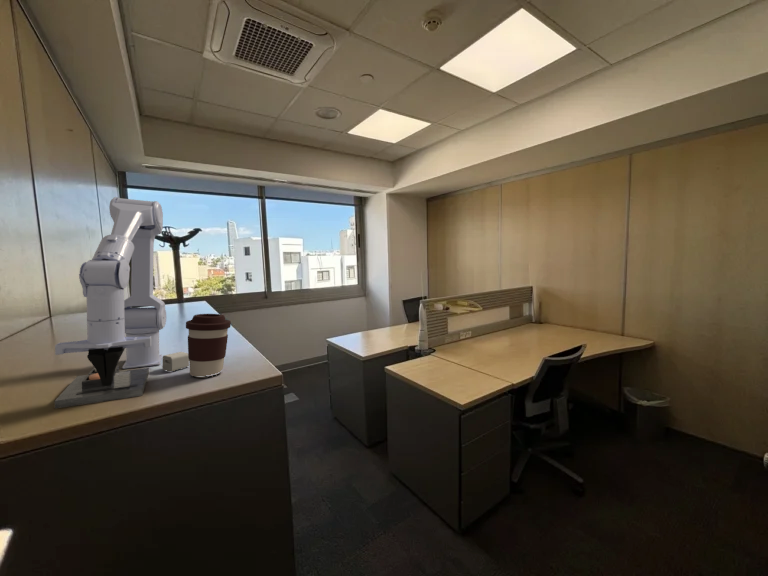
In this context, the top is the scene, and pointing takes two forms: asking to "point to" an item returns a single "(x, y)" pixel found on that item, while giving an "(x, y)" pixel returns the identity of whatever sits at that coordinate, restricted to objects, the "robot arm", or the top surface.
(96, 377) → the terracotta button
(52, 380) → the top surface
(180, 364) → the usb wall charger
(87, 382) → the control panel
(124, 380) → the light grey block
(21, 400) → the top surface
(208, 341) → the coffee cup
